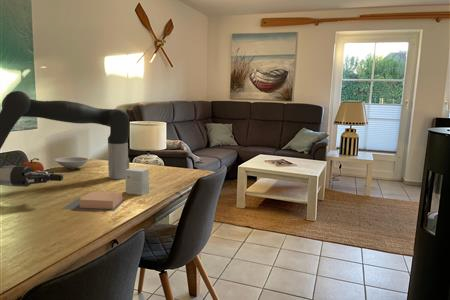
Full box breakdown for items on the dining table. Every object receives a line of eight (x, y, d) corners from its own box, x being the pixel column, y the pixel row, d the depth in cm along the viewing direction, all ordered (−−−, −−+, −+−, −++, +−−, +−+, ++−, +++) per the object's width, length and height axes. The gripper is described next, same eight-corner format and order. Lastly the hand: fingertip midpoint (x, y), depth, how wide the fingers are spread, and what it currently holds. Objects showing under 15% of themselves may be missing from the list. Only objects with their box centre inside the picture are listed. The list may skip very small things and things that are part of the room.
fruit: (28, 176, 168) (27, 155, 167) (48, 177, 168) (47, 156, 166) (16, 181, 159) (15, 159, 157) (37, 181, 159) (35, 160, 157)
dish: (49, 171, 180) (49, 161, 180) (62, 165, 195) (61, 156, 194) (83, 172, 180) (83, 162, 180) (93, 166, 195) (93, 157, 194)
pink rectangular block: (79, 199, 123) (112, 200, 123) (91, 191, 133) (122, 193, 133) (79, 208, 124) (113, 209, 123) (91, 199, 133) (122, 200, 133)
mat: (62, 210, 122) (61, 208, 122) (78, 199, 135) (78, 197, 135) (114, 212, 122) (113, 210, 122) (125, 201, 135) (125, 199, 134)
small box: (149, 193, 147) (149, 168, 145) (142, 196, 141) (142, 171, 140) (133, 190, 149) (132, 166, 147) (125, 194, 144) (125, 169, 142)
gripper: (2, 170, 121) (52, 171, 120) (25, 162, 134) (70, 163, 133) (4, 190, 122) (53, 192, 121) (27, 181, 135) (71, 183, 134)
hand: (62, 177), depth 127 cm, fingers closed
